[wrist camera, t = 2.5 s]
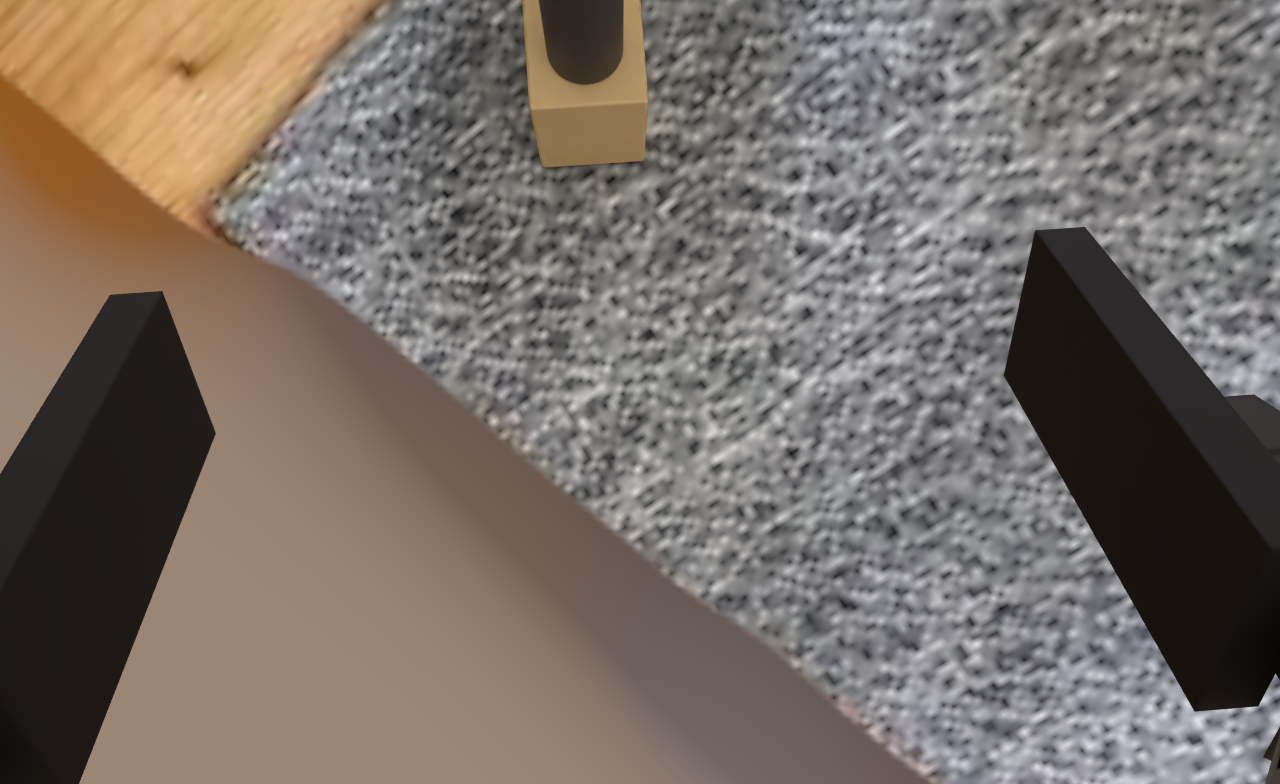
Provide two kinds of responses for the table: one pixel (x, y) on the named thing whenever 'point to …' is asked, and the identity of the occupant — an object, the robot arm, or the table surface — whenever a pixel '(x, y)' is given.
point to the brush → (586, 80)
